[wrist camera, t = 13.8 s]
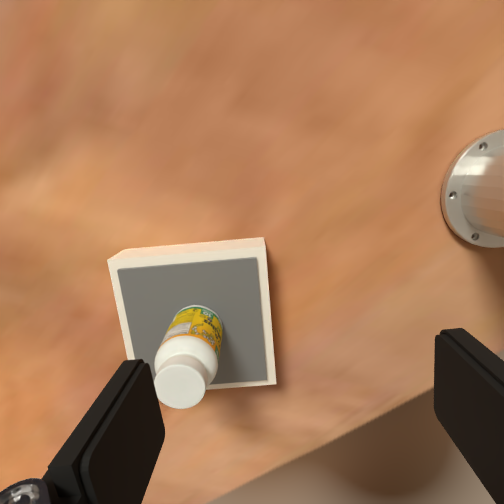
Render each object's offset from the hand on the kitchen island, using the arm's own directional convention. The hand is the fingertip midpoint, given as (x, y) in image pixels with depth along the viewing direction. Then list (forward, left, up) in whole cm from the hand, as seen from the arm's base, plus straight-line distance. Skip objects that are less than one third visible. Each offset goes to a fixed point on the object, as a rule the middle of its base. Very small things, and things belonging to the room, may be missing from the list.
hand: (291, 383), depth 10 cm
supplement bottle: (+8, +9, -22) cm, 25 cm away
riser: (+8, +9, -27) cm, 29 cm away
